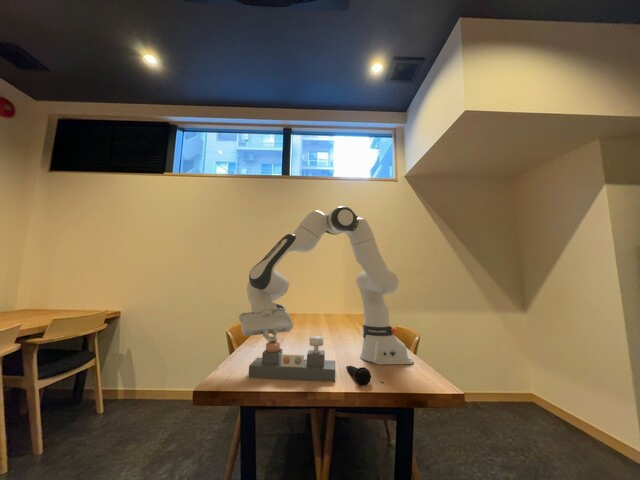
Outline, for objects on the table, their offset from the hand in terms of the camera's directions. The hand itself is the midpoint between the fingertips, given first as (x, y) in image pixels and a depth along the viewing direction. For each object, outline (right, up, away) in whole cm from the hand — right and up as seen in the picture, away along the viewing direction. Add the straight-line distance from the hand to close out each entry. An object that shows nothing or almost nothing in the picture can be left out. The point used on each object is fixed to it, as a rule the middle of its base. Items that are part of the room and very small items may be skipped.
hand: (272, 342), depth 102 cm
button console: (+8, -11, -2) cm, 14 cm away
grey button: (+16, -4, -2) cm, 16 cm away
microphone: (+31, -12, -3) cm, 33 cm away
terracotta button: (0, -6, -1) cm, 7 cm away
